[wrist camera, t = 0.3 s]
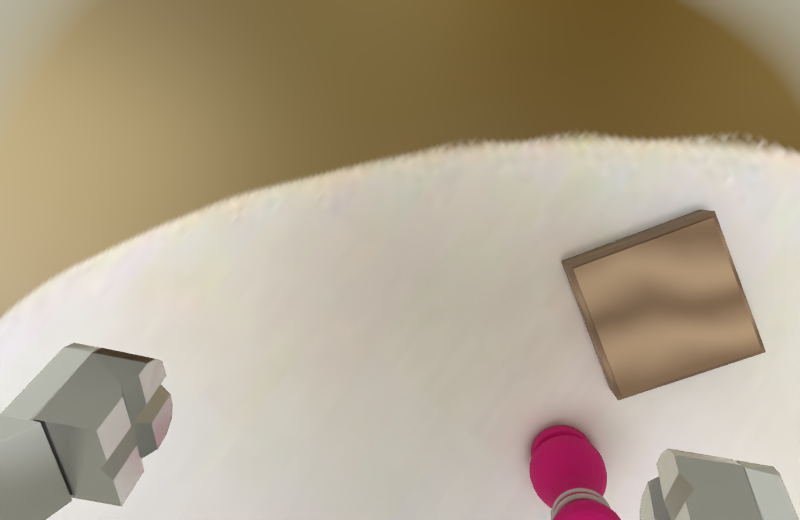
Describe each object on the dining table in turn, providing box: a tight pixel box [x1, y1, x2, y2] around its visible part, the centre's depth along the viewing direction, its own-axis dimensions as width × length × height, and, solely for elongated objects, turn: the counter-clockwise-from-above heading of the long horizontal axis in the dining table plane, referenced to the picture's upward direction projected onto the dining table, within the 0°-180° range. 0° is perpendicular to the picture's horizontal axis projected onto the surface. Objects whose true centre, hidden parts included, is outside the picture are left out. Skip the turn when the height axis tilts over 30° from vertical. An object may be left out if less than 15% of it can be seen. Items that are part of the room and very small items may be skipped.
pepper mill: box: [530, 426, 621, 520], centre depth 54 cm, size 7×7×20 cm
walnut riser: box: [562, 210, 766, 400], centre depth 58 cm, size 14×14×4 cm
